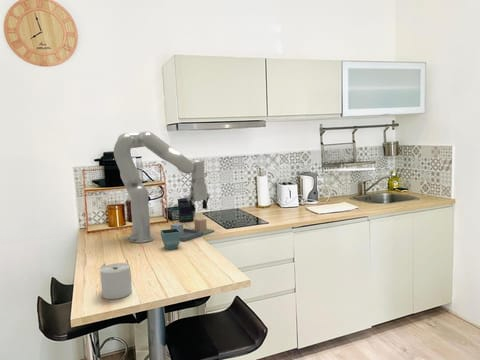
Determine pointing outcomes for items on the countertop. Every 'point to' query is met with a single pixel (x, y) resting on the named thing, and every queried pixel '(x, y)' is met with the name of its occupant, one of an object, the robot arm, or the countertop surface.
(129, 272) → the toilet tissue
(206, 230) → the mat
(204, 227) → the labelled box
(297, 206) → the countertop surface
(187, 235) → the parts tray
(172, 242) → the flower pot
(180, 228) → the plain box
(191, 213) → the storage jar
